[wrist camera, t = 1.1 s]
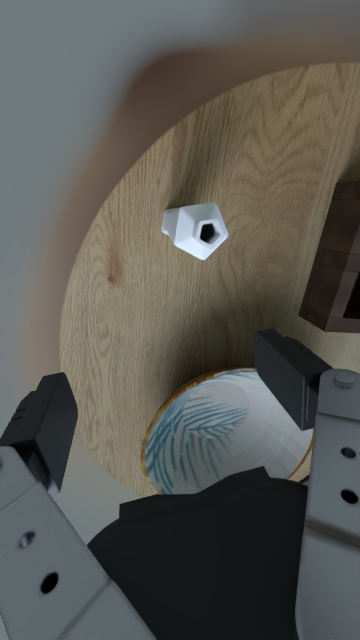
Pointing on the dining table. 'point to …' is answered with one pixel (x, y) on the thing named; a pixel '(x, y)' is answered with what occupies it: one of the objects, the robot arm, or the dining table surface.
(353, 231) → the holder
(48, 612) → the robot arm
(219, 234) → the perfume bottle
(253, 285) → the dining table surface
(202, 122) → the dining table surface
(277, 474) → the bowl
